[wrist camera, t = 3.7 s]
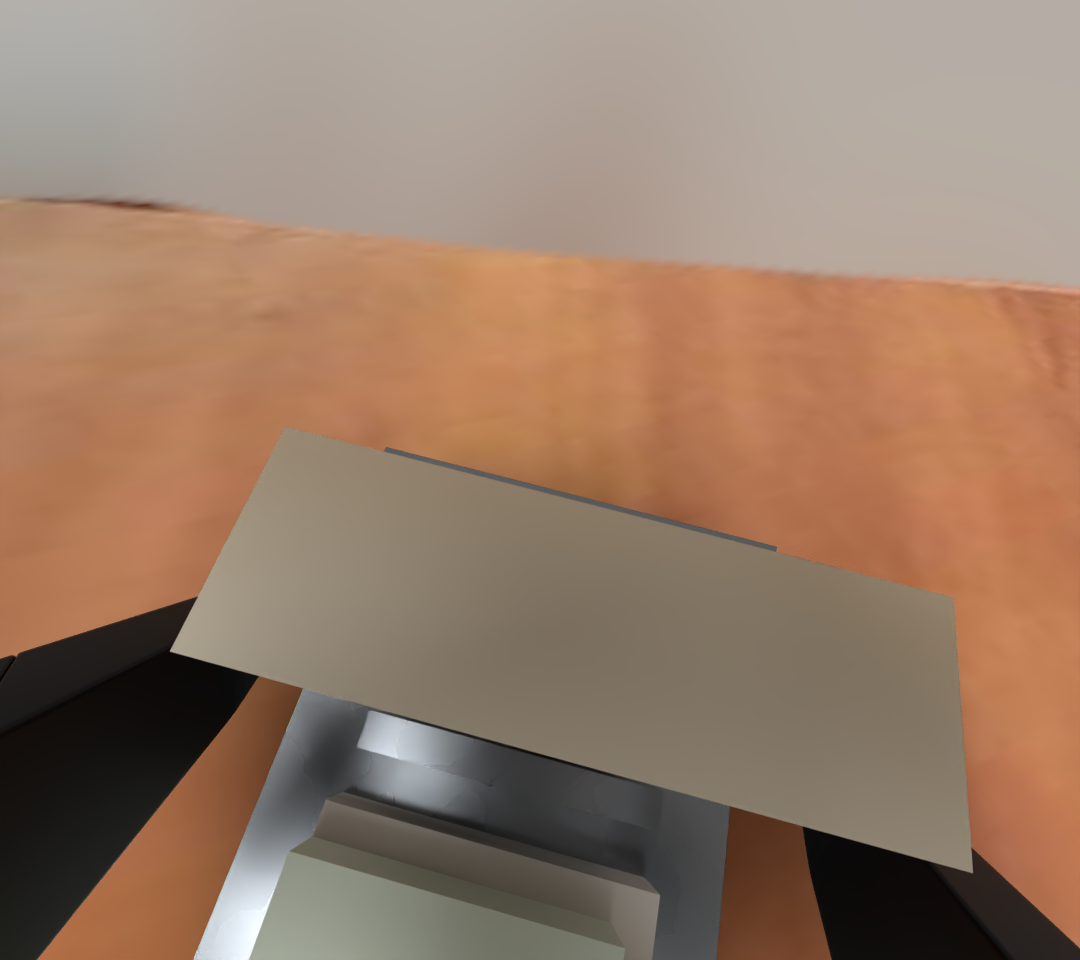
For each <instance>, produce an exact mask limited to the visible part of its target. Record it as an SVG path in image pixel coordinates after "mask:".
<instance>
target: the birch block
mask: <svg viewBox="0 0 1080 960" xmlns="http://www.w3.org/2000/svg"><path fill="white" fill-rule="evenodd" d="M170 652H174V653H177V654H181V655H184V656H188V657H192V658H195V659H199V660H203V661H206V662H210V663H213V664H217V665H221V666H224V667H228V668H231V669H235V670H239V671H242V672H246V673H250V674H253V675H257V676H260V677H264V678H268V679H271V680H275V681H279V682H282V683H286V684H289V685H293V686H297V687H300V688H304V689H308V690H311V691H315V692H318V693H322V694H326V695H329V696H333V697H336V698H340V699H344V700H347V701H351V702H355V703H358V704H362V705H365V706H369V707H373V708H376V709H380V710H384V711H387V712H391V713H394V714H398V715H402V716H405V717H409V718H413V719H416V720H420V721H423V722H427V723H431V724H434V725H438V726H441V727H445V728H449V729H452V730H456V731H460V732H463V733H467V734H470V735H474V736H478V737H481V738H485V739H489V740H492V741H496V742H499V743H503V744H507V745H510V746H514V747H518V748H521V749H525V750H528V751H532V752H536V753H539V754H543V755H547V756H550V757H554V758H557V759H561V760H565V761H568V762H572V763H575V764H579V765H583V766H586V767H590V768H594V769H597V770H601V771H604V772H608V773H612V774H615V775H619V776H623V777H626V778H630V779H633V780H637V781H641V782H644V783H648V784H652V785H655V786H659V787H662V788H666V789H670V790H673V791H677V792H680V793H684V794H688V795H691V796H695V797H699V798H702V799H706V800H709V801H713V802H717V803H720V804H724V805H728V806H731V807H735V808H738V809H742V810H746V811H749V812H753V813H757V814H760V815H764V816H767V817H771V818H775V819H778V820H782V821H785V822H789V823H793V824H796V825H800V826H804V827H807V828H811V829H814V830H818V831H822V832H825V833H829V834H833V835H836V836H840V837H843V838H847V839H851V840H854V841H858V842H862V843H865V844H869V845H872V846H876V847H880V848H883V849H887V850H891V851H894V852H898V853H901V854H905V855H909V856H912V857H916V858H919V859H923V860H927V861H930V862H934V863H938V864H941V865H945V866H948V867H952V868H956V869H959V870H963V871H967V872H970V873H973V865H972V851H971V837H970V823H969V809H968V794H967V780H966V766H965V752H964V738H963V724H962V710H961V696H960V682H959V668H958V653H957V639H956V625H955V611H954V597H951V596H947V595H943V594H939V593H935V592H931V591H927V590H923V589H919V588H915V587H911V586H908V585H904V584H900V583H896V582H892V581H888V580H884V579H880V578H876V577H872V576H868V575H864V574H861V573H857V572H853V571H849V570H845V569H841V568H837V567H833V566H829V565H825V564H821V563H818V562H814V561H810V560H806V559H802V558H798V557H794V556H790V555H786V554H782V553H778V552H774V551H771V550H767V549H763V548H759V547H755V546H751V545H747V544H743V543H739V542H735V541H731V540H728V539H724V538H720V537H716V536H712V535H708V534H704V533H700V532H696V531H692V530H688V529H684V528H681V527H677V526H673V525H669V524H665V523H661V522H657V521H653V520H649V519H645V518H641V517H638V516H634V515H630V514H626V513H622V512H618V511H614V510H610V509H606V508H602V507H598V506H594V505H591V504H587V503H583V502H579V501H575V500H571V499H567V498H563V497H559V496H555V495H551V494H548V493H544V492H540V491H536V490H532V489H528V488H524V487H520V486H516V485H512V484H508V483H504V482H501V481H497V480H493V479H489V478H485V477H481V476H477V475H473V474H469V473H465V472H461V471H458V470H454V469H450V468H446V467H442V466H438V465H434V464H430V463H426V462H422V461H418V460H414V459H411V458H407V457H403V456H399V455H395V454H391V453H387V452H383V451H379V450H375V449H371V448H368V447H364V446H360V445H356V444H352V443H348V442H344V441H340V440H336V439H332V438H328V437H324V436H321V435H317V434H313V433H309V432H305V431H301V430H297V429H293V428H289V427H285V429H284V431H283V432H282V434H281V436H280V438H279V440H278V442H277V444H276V446H275V448H274V450H273V452H272V454H271V456H270V458H269V460H268V462H267V464H266V465H265V467H264V469H263V471H262V473H261V475H260V477H259V479H258V481H257V483H256V485H255V487H254V489H253V491H252V493H251V495H250V497H249V499H248V500H247V502H246V504H245V506H244V508H243V510H242V512H241V514H240V516H239V518H238V520H237V522H236V524H235V526H234V528H233V530H232V532H231V534H230V535H229V537H228V539H227V541H226V543H225V545H224V547H223V549H222V551H221V553H220V555H219V557H218V559H217V561H216V563H215V565H214V567H213V569H212V570H211V572H210V574H209V576H208V578H207V580H206V582H205V584H204V586H203V588H202V590H201V592H200V594H199V596H198V598H197V600H196V602H195V603H194V605H193V607H192V609H191V611H190V613H189V615H188V617H187V619H186V621H185V623H184V625H183V627H182V629H181V631H180V633H179V635H178V637H177V638H176V640H175V642H174V644H173V646H172V648H171V650H170Z"/></svg>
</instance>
